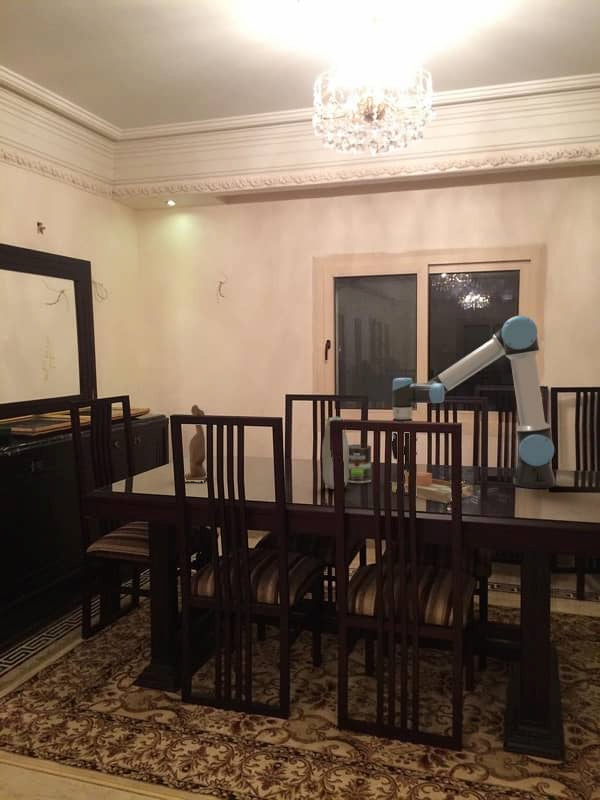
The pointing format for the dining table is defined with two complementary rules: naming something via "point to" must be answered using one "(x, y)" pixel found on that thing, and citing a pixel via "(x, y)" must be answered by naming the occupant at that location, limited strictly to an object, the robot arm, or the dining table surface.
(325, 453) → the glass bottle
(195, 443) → the bird sculpture
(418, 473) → the block
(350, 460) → the coffee can
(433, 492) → the trap lane
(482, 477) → the dining table surface
